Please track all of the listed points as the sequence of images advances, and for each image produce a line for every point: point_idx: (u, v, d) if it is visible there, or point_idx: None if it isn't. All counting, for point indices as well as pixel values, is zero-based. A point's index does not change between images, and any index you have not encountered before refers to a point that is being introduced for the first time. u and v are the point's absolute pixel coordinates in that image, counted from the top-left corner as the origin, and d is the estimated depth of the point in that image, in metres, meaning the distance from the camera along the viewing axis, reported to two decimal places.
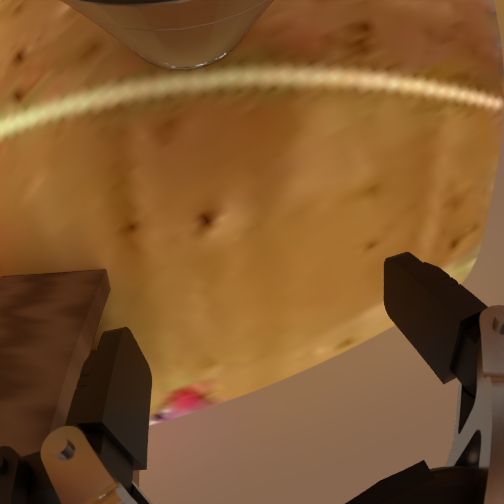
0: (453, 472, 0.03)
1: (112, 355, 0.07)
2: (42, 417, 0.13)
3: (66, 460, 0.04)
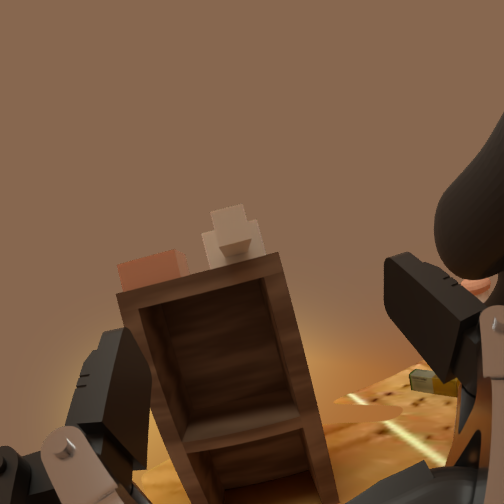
0: (453, 472, 0.03)
1: (112, 355, 0.07)
2: None
3: (66, 460, 0.04)
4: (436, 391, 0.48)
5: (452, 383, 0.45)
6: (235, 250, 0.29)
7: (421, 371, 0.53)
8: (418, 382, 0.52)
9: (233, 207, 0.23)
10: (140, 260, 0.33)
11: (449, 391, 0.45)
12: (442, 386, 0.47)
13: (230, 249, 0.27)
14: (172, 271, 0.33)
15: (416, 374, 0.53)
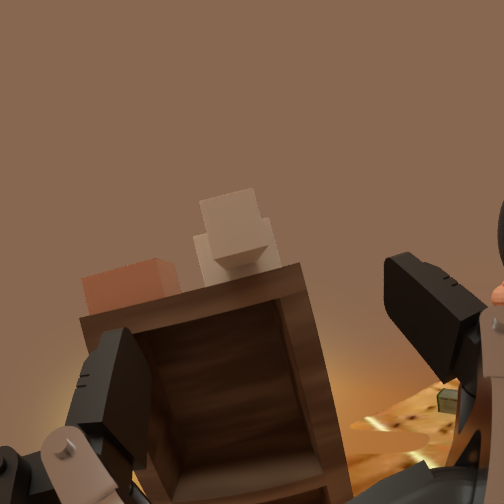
0: (453, 472, 0.03)
1: (112, 355, 0.07)
2: None
3: (66, 460, 0.04)
4: None
5: None
6: (240, 261, 0.20)
7: (450, 391, 0.44)
8: (447, 403, 0.43)
9: (238, 193, 0.14)
10: (111, 273, 0.23)
11: None
12: None
13: (232, 261, 0.18)
14: (153, 288, 0.23)
15: (445, 395, 0.44)
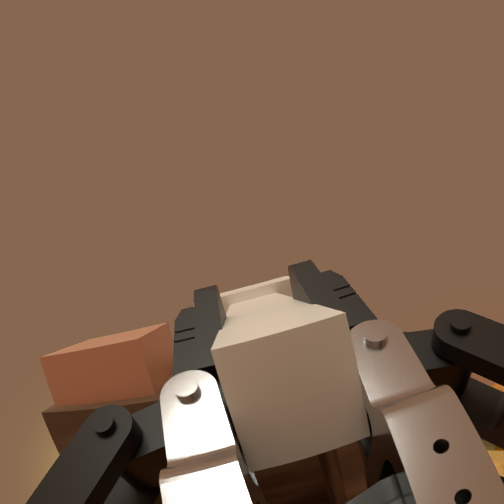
0: None
1: (213, 307, 0.09)
2: None
3: (199, 402, 0.06)
4: (498, 447, 0.31)
5: None
6: None
7: None
8: None
9: (309, 330, 0.05)
10: (77, 355, 0.15)
11: None
12: None
13: None
14: (138, 381, 0.15)
15: None
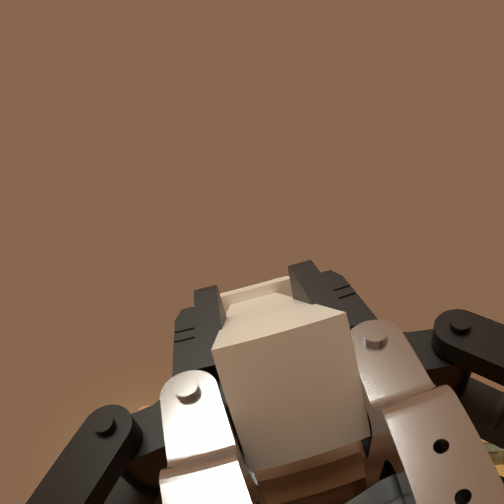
0: None
1: (213, 307, 0.09)
2: None
3: (199, 402, 0.06)
4: None
5: None
6: None
7: (486, 444, 0.36)
8: None
9: (309, 330, 0.05)
10: None
11: None
12: None
13: None
14: None
15: None
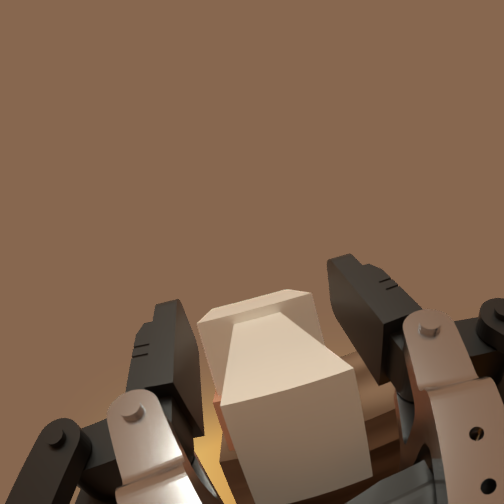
0: (408, 492, 0.03)
1: (170, 323, 0.08)
2: None
3: (140, 422, 0.05)
4: None
5: None
6: None
7: None
8: None
9: (317, 386, 0.05)
10: None
11: None
12: None
13: None
14: None
15: None
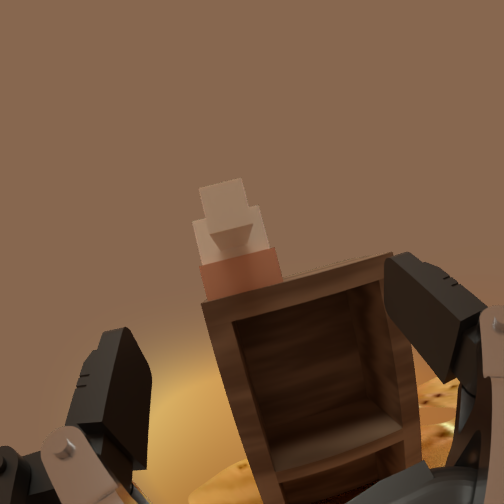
0: (453, 472, 0.03)
1: (112, 355, 0.07)
2: None
3: (66, 460, 0.04)
4: None
5: None
6: (232, 240, 0.23)
7: None
8: None
9: (229, 182, 0.17)
10: (231, 260, 0.27)
11: None
12: None
13: (225, 239, 0.21)
14: (273, 274, 0.27)
15: None
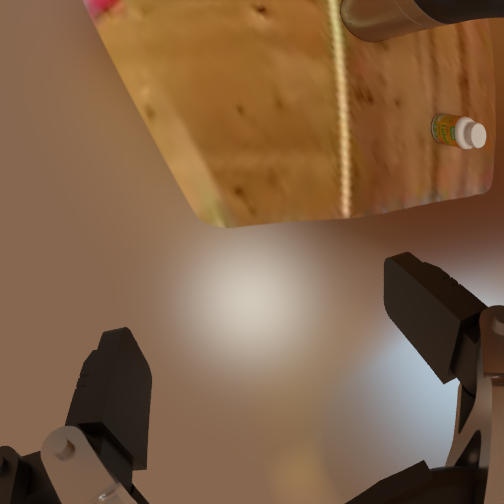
0: (453, 472, 0.03)
1: (112, 355, 0.07)
2: None
3: (66, 460, 0.04)
4: None
5: None
6: None
7: None
8: None
9: None
10: None
11: None
12: None
13: None
14: None
15: None
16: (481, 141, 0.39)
